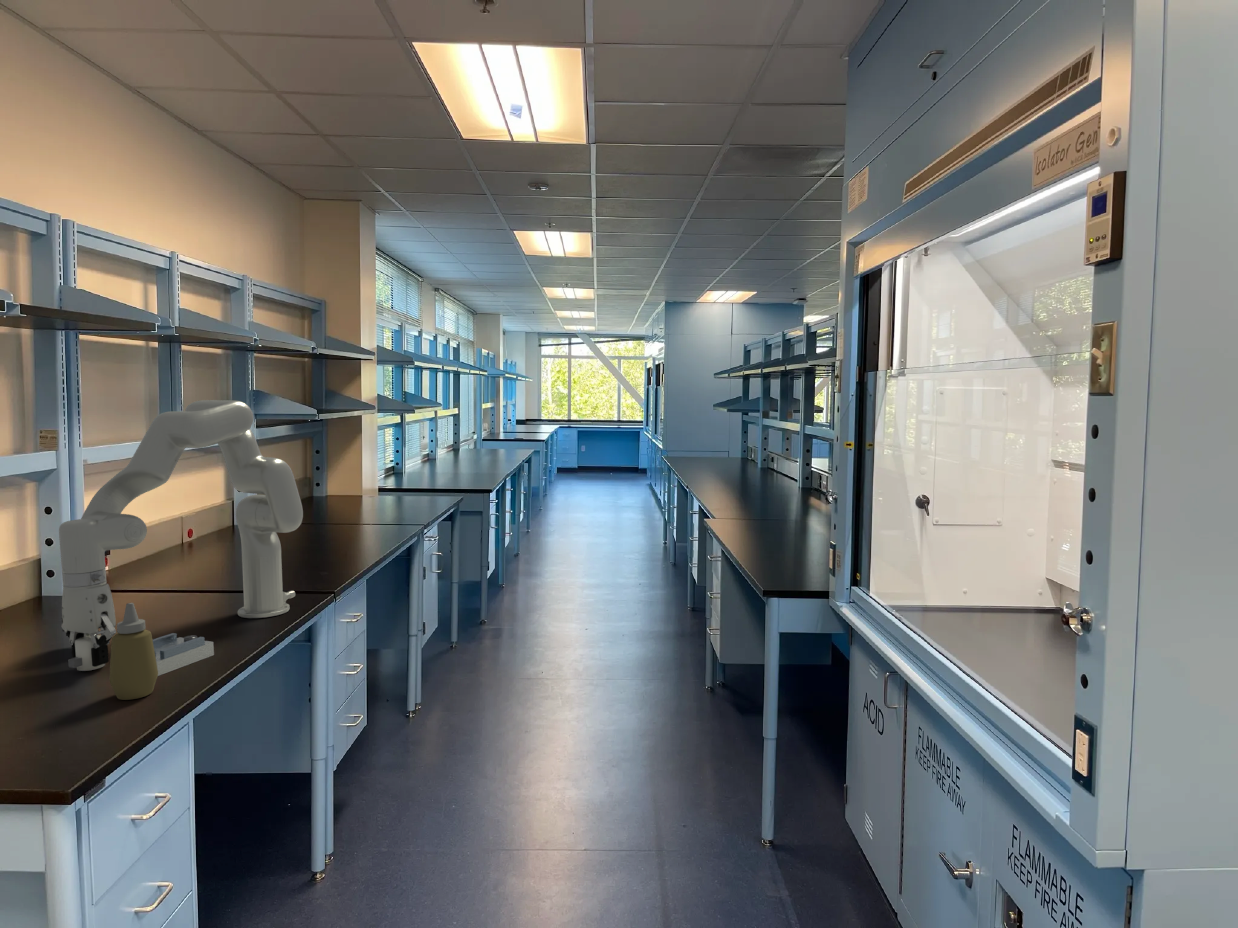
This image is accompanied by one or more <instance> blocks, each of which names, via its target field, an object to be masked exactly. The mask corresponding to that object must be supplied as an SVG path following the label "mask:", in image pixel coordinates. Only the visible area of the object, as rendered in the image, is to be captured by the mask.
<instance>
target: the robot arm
mask: <svg viewBox="0 0 1238 928" xmlns="http://www.w3.org/2000/svg"><path fill="white" fill-rule="evenodd" d="M253 424H254V413H253V411H252V409H251V407H250V406H249V405H247V404H246V403H245V402H243V401H241V400H229V399H228V400H227V399H225V400H224V399H223V400H221V399H212V400H211V399H201V400H195V401H192V402H191V403H190V404H188V405H186V408H185V411H184V410H182V411H176V410H175V411H174V410H173V411H166V412H162V413H159V414H158V415H157V416H156V417H154V419H153V420H152V422H151V424H150V425H149V426H148V429H147V430H146V432H145V434H144V436H143V438H142V439H141V441H140V443H139V444H138V446H137V449H136V450H135V451H134V454H133V456H132V457H131V459H130V461H129V462H128V464H127V465H126V467H124V468H123V469H122V470H120V471H119V472H117V473H116V474H115V475H114V476H113V477H112V478H110V479H109V480H108V481H107V482H106V483H105V484H103V485H102V486H101V487H100V488H99V489H98V490H97V491H96V493H95V494H94V495H93V497H92V498H91V500H90V502H89V503H88V505H87V507H86V508H85V510H84V512H83V514H82V515H81V518H80V519H73V520H68V521H64V522H62V523H61V524H60V525H59V527H58V538H59V539H58V540H59V550H60V553H59V554H60V563H61V564H60V566H61V578H62V594H61V598H62V599H61V615H62V616H61V619H62V618H63V623H62V622H61V625H60V626H61V629H62V631H63V630H64V631H63V632H65V636H66V635H67V636H66V637H68V639H69V640H68V643H69V645H71V655H72V656H71V659H72V658H75V657H76V651H75V640H76V639H79V638H82V637H86V634H90V636H91V640H92V644H93V647H94V648H91V655H92V666H94V667H96V666H99V665H102V664H105V665H106V664H108V662H109V661H110V659H109V647H108V646H109V645H110V642H111V640H112V637H113V636H115V635H116V634H117V629H116V627H117V623H116V622H117V621H116V611H115V606H114V600H113V595H112V591H111V588H110V585H109V583H107V582H108V581H107V571H106V558H105V556H106V555H105V552H107V551H113V550H124V549H125V550H127V549H132V548H134V547H137V546H138V545H140V544H141V543H142V542H143V541H144V540H145V538H146V537H147V534H148V528H147V525H146V522H144V520H143V519H141V518H140V517H138V516H136V515H133V514H128V513H122V512H123V511H124V510H125V509H126V507H127V506H128V505H129V504H130V503H131V502H133V500H136V498H138V497H140V496H142V495H144V494H145V493H148V492H150V491H152V490H155V489H158V488H159V487H160V486H162V485H165V483H168V481H169V479H170V477H171V475H172V474H173V472H174V469H175V468H176V465H178V462H179V460H180V459H181V456H182V455H183V453H184V451H185V449H202V448H207V447H210V446H211V447H212V446H214V445H218V446H219V448H220V451H221V453H222V456H223V459H224V462H225V465H226V469H227V473H228V476H229V478H230V482H231V483H232V486H233V488H235V490H236V491H238V492H241V493H245V494H252V495H247V496H245V497H244V498H242V499H241V500H240V502H238V504H237V506H236V508H235V519H236V524H237V528H238V531H239V535H240V536H239V537H240V542H241V543H240V544H241V564H242V565H241V566H242V567H241V568H242V587H243V588H242V589H243V606H242V607H240V608H239V609H238V610H237V615H238V616H239V617H241V618H245V619H262V618H271V617H275V616H276V617H277V616H279V615H283V614H286V613H287V612H289V610H290V604H289V603H287V600H288V599H289V600H290V599H292V598H294V597H296V592H295V591H294V590H289V591H283V569H282V568H283V566H282V546H281V541H280V538H279V536H278V533H284V534H286V533H291V532H294V531H296V530H297V529H298V528H299V527H300V526H301V525H302V523H303V520H304V519H303V518H304V510H303V504H302V500H301V497H300V494H299V490H298V486H297V482H296V479H295V476H294V472H293V470H292V469H291V467H290V465H289V464H288V463H287V462H286V461H285V460H284V459H283V460H282V459H281V458H277V457H270V456H269V457H267V456H266V457H265V456H263V454H262V453H261V450H260V447H259V445H258V442H257V439H256V437H255V434H254V433H253V430H252V429H251V427H252V426H253ZM97 635H101V637H100V638H99V639H98V638H97Z"/></svg>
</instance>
